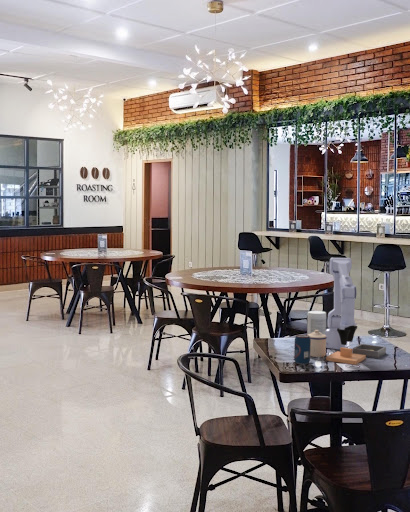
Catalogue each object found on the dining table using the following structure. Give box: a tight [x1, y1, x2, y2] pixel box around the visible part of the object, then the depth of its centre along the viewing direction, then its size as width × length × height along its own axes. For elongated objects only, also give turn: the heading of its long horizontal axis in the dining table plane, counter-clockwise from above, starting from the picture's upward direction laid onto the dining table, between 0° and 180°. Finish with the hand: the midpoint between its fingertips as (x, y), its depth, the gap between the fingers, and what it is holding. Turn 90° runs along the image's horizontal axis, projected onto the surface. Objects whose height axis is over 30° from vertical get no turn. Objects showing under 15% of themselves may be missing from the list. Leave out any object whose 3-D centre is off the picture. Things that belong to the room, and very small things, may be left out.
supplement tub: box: [306, 310, 327, 335], centre depth 327 cm, size 10×10×15 cm
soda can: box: [293, 334, 311, 365], centre depth 280 cm, size 7×7×12 cm
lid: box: [325, 347, 366, 366], centre depth 287 cm, size 14×14×5 cm
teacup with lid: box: [308, 330, 327, 358], centre depth 295 cm, size 12×9×12 cm
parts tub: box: [352, 343, 387, 359], centre depth 299 cm, size 12×12×3 cm
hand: (346, 343), depth 287 cm, fingers open, 7 cm apart
